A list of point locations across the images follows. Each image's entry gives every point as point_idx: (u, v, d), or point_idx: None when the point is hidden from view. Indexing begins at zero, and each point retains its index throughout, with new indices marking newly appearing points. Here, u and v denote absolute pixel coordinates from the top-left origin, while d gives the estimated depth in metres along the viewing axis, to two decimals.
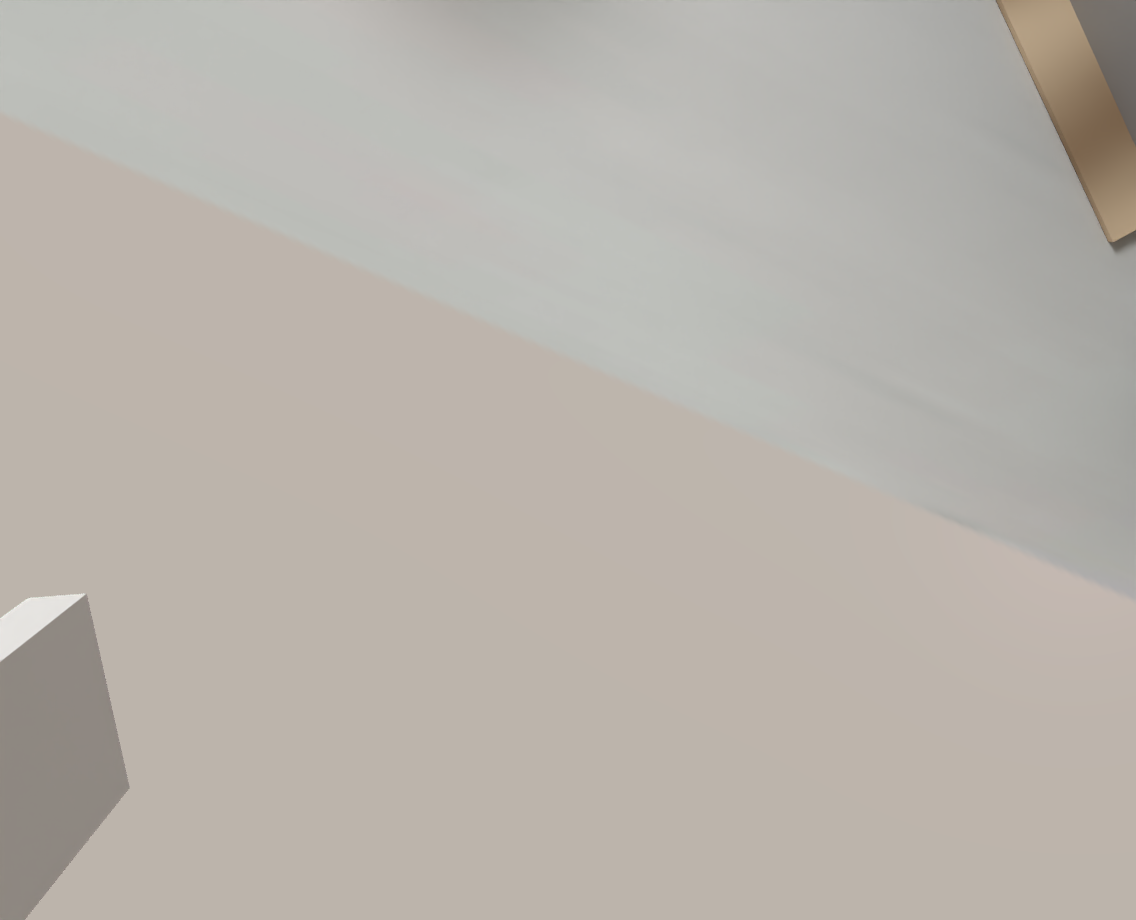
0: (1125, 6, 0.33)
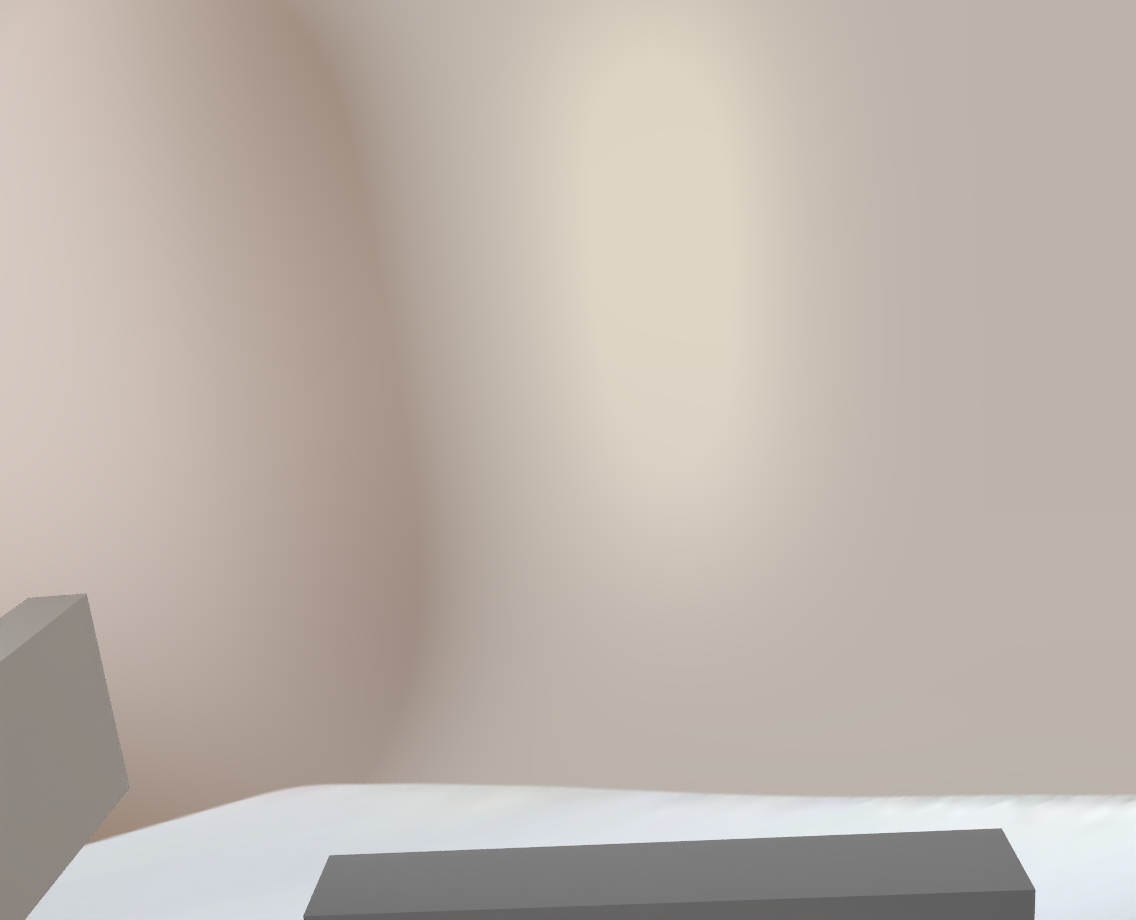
0: None
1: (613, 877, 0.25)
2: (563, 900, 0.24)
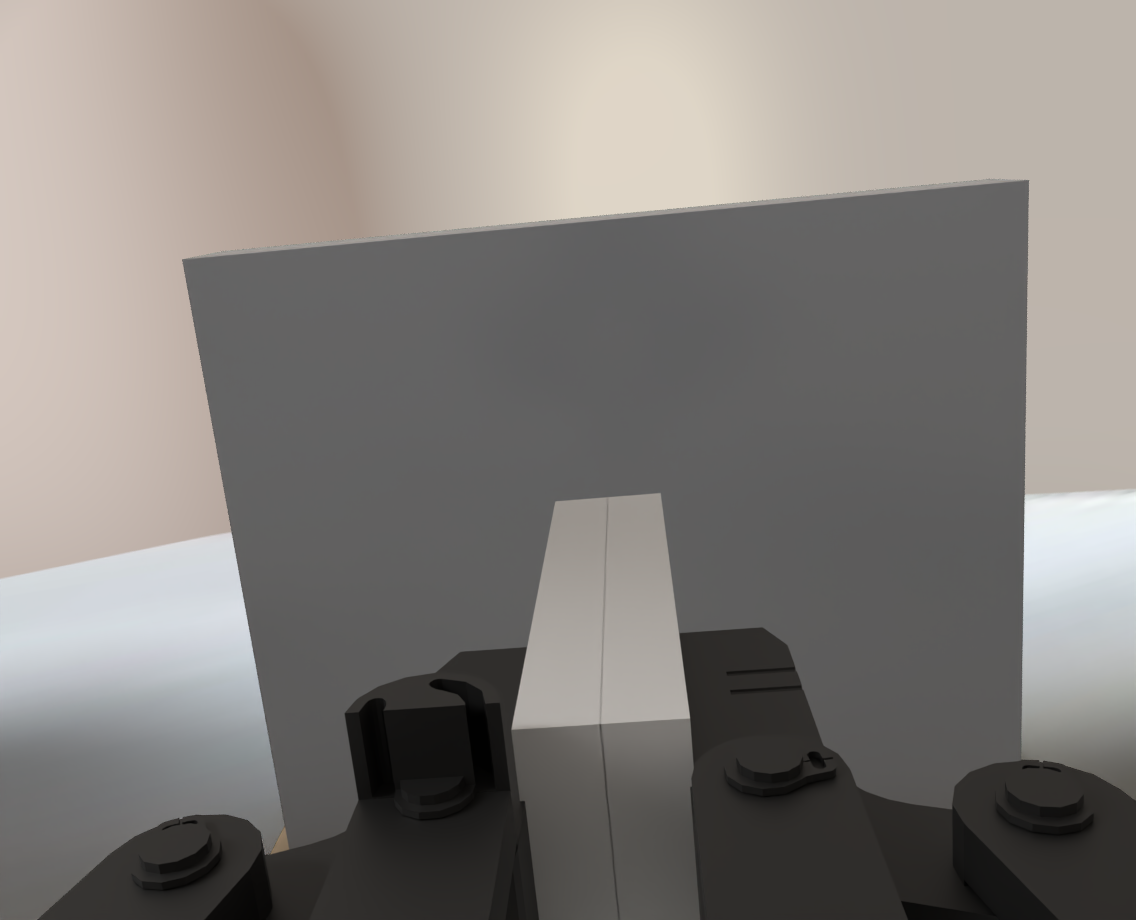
0: None
1: (543, 223, 0.21)
2: (484, 230, 0.21)
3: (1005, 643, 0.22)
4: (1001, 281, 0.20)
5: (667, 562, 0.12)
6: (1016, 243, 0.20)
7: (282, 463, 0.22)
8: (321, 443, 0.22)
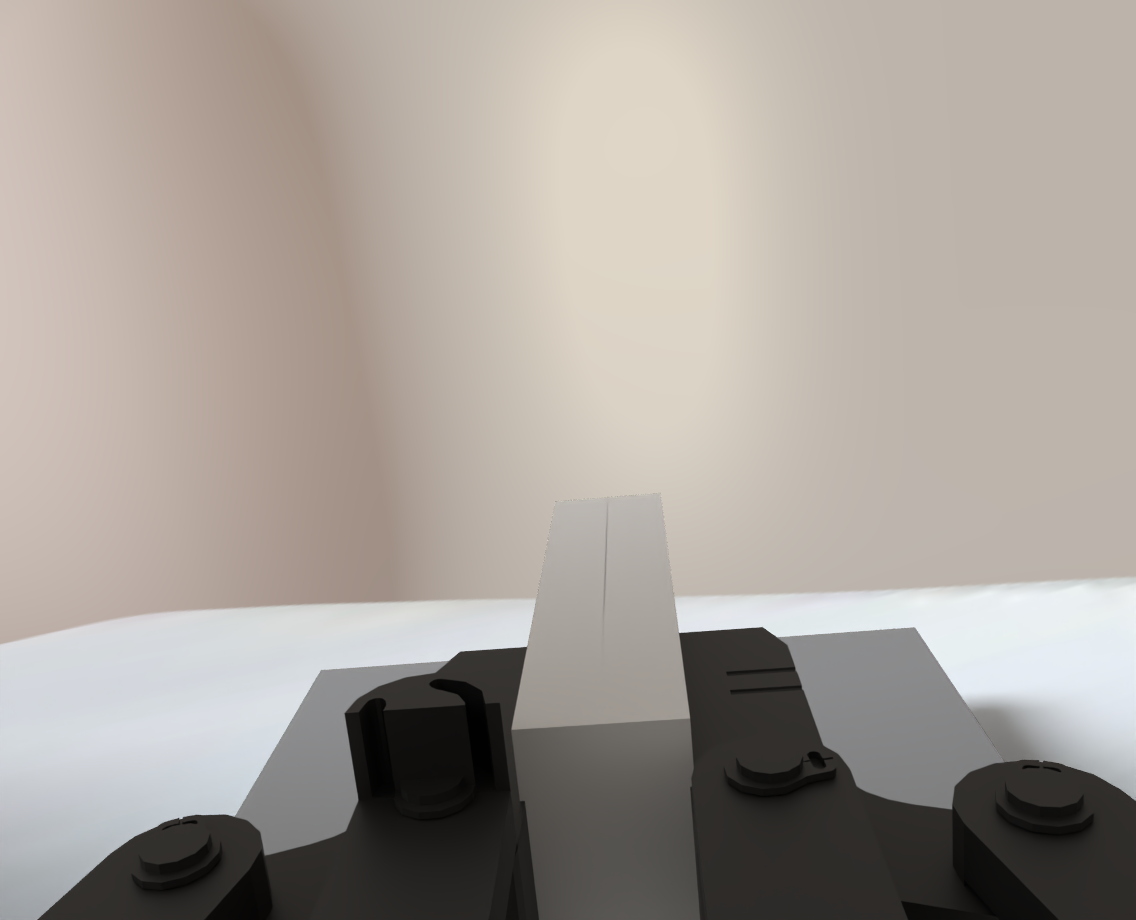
0: None
1: None
2: None
3: None
4: (915, 658, 0.27)
5: (667, 562, 0.12)
6: (918, 646, 0.28)
7: (328, 745, 0.26)
8: None
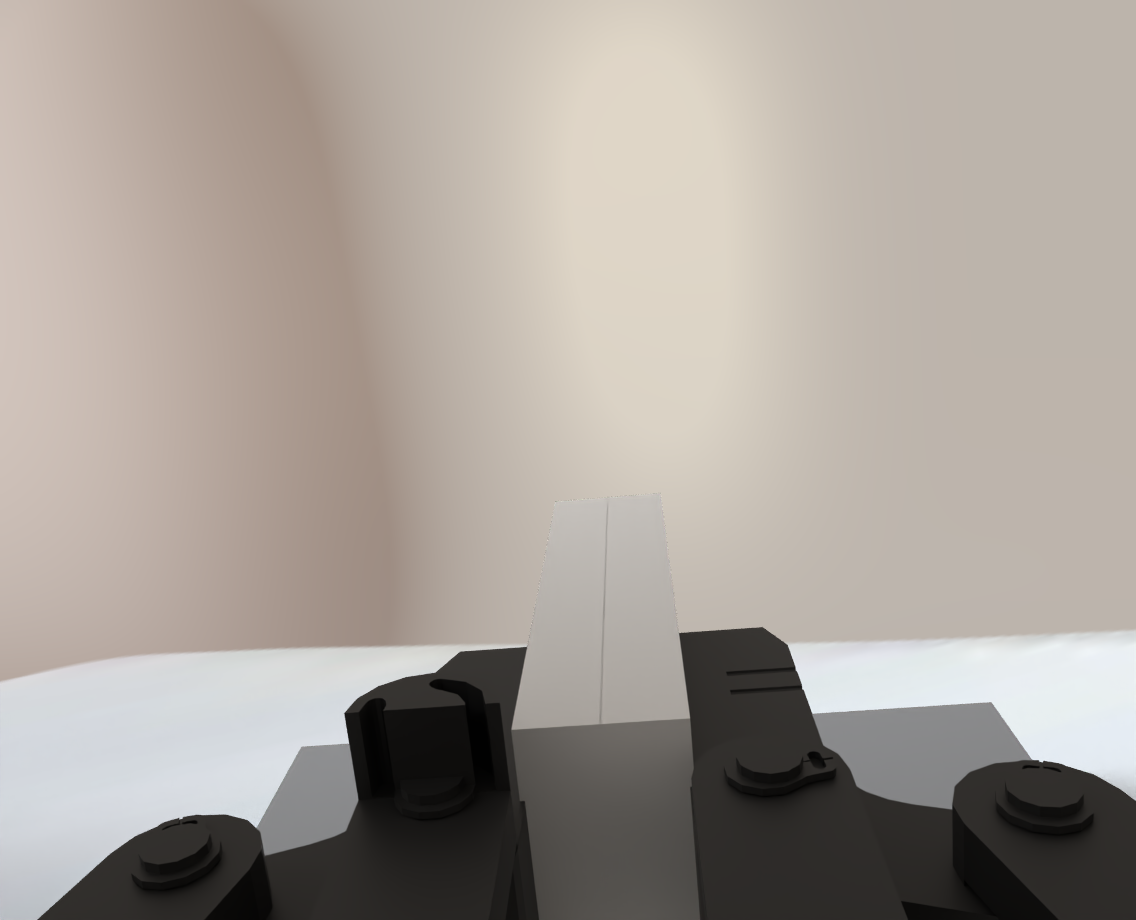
0: None
1: None
2: None
3: None
4: (996, 744, 0.23)
5: (667, 562, 0.12)
6: (998, 727, 0.24)
7: None
8: None
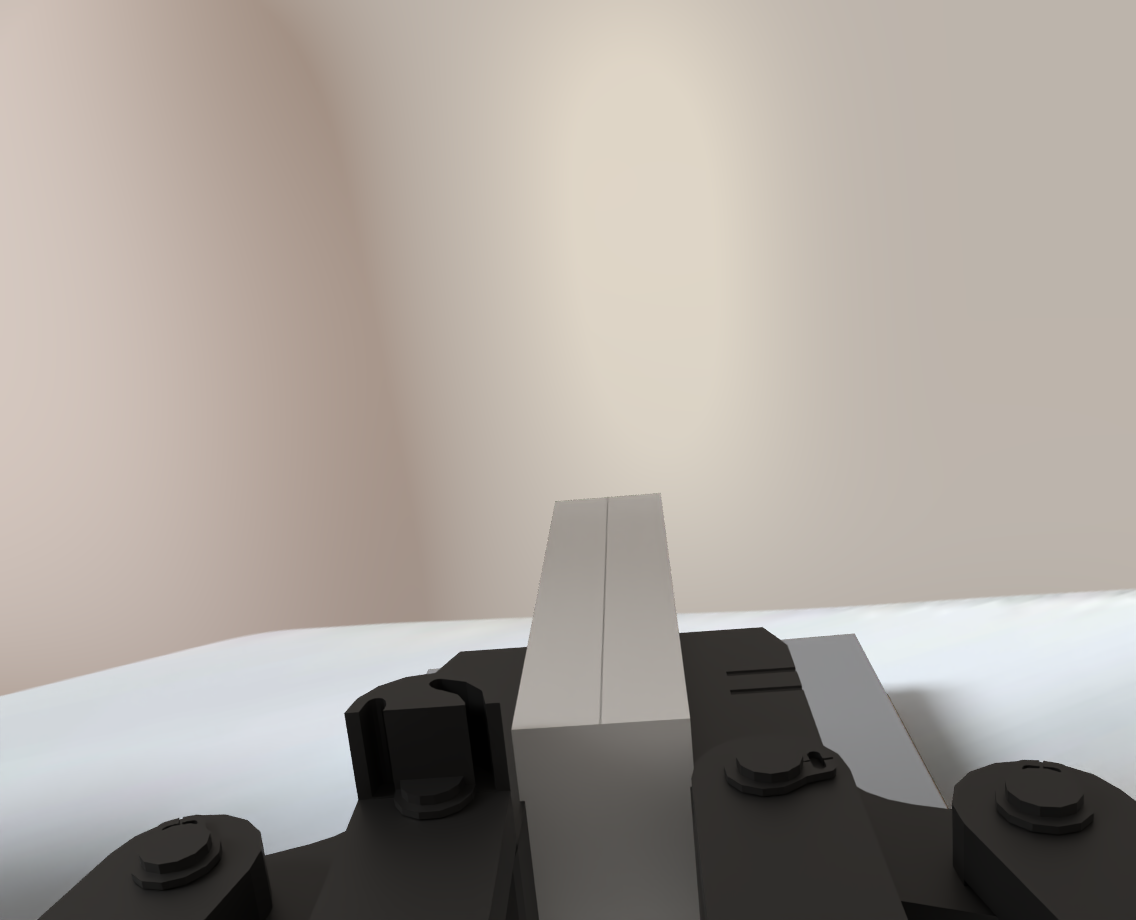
0: None
1: None
2: None
3: (909, 761, 0.31)
4: (851, 654, 0.38)
5: (667, 562, 0.12)
6: (855, 646, 0.39)
7: None
8: None
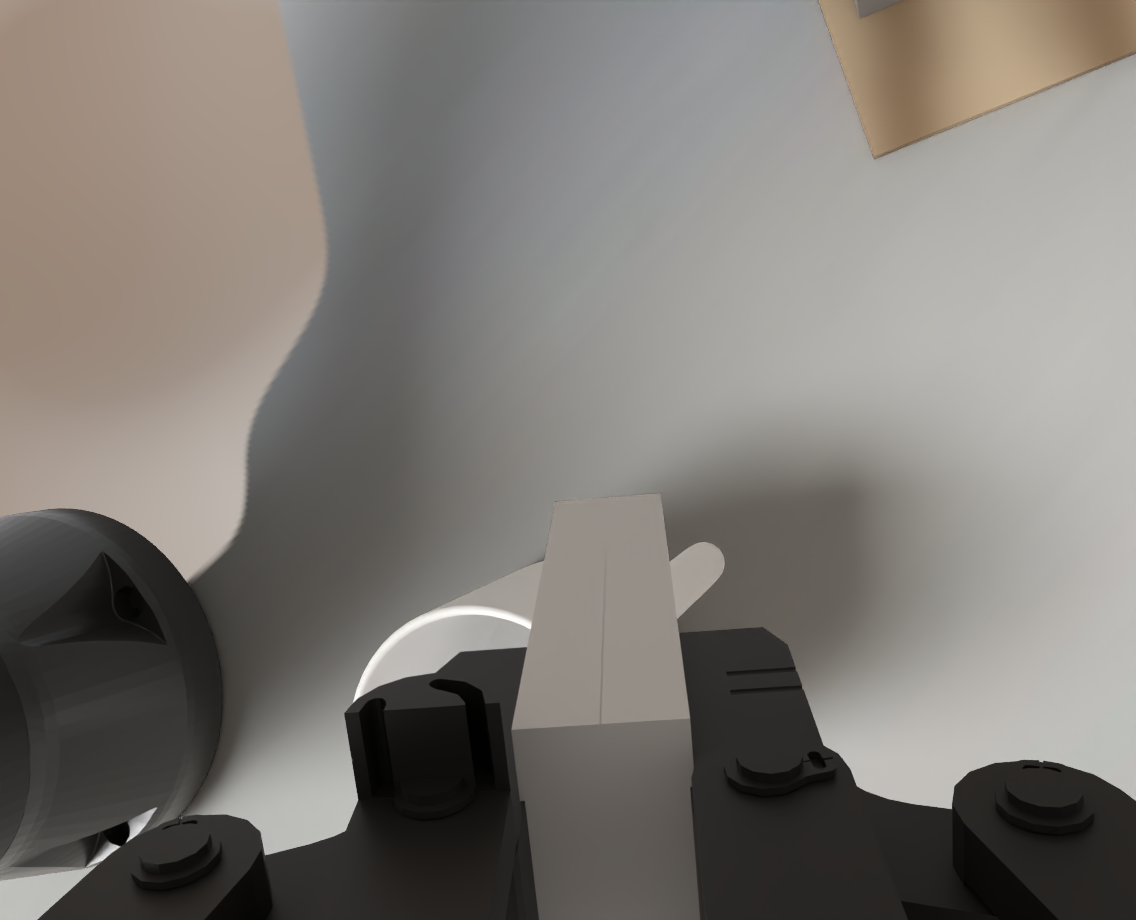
0: None
1: None
2: None
3: None
4: None
5: (667, 562, 0.12)
6: None
7: None
8: None
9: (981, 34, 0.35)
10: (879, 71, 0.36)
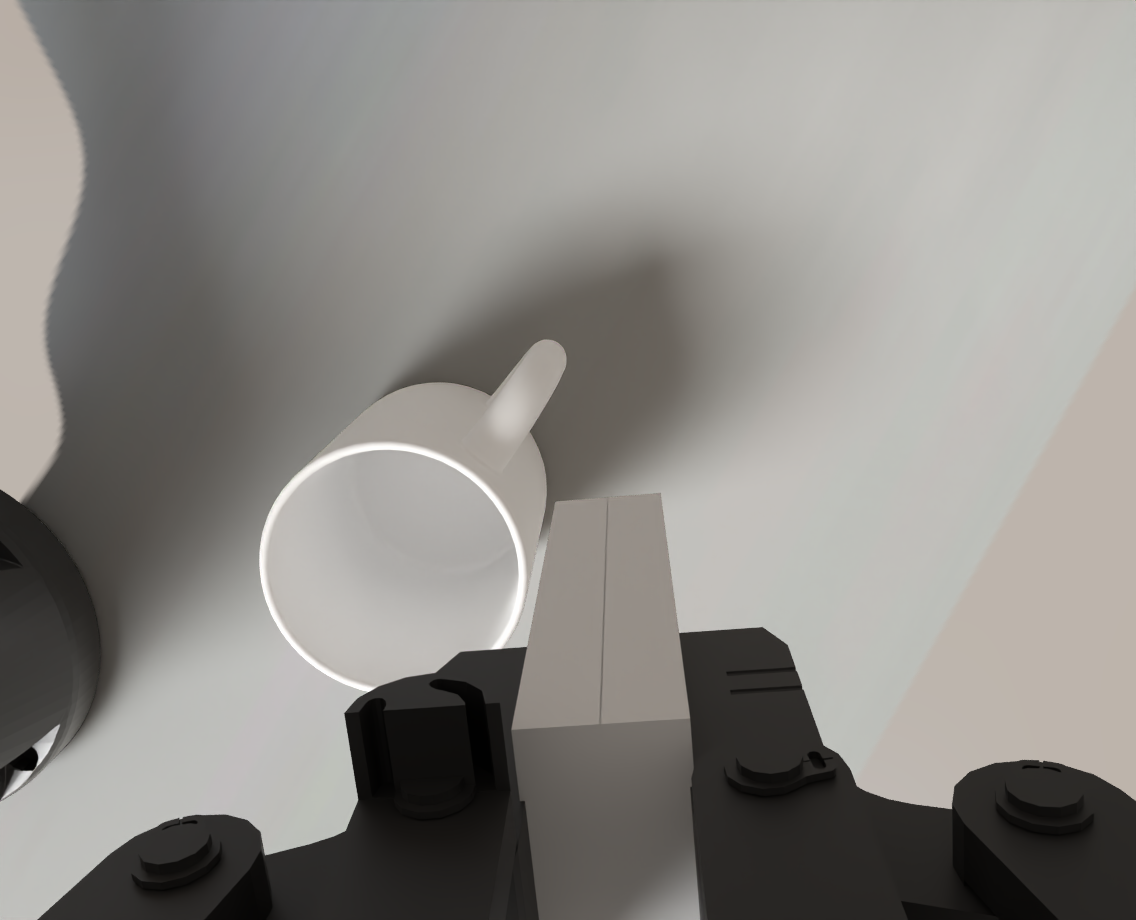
0: None
1: None
2: None
3: None
4: None
5: (667, 562, 0.12)
6: None
7: None
8: None
9: None
10: None
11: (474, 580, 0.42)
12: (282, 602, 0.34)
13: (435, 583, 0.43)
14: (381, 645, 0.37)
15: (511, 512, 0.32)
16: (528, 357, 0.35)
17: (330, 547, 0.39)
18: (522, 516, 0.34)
